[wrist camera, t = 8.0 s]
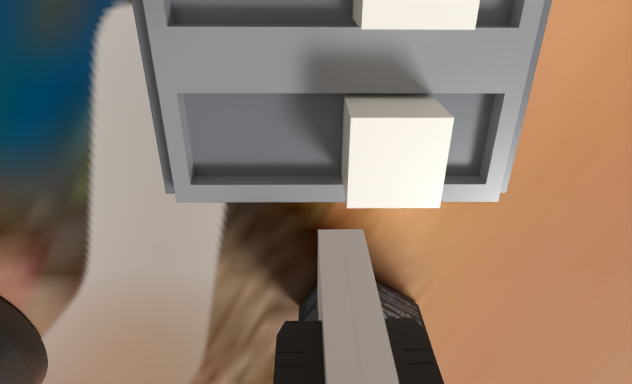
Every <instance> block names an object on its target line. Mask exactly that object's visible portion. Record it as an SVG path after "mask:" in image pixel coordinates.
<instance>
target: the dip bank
mask: <svg viewBox="0 0 632 384" xmlns="http://www.w3.org/2000/svg"><path fill="white" fill-rule="evenodd" d="M551 2H552V0H480V3H479V9H478V15H477V21H476V27H475V30H401V29H361V28H360V27H359V26H358V25H357V24H356V22H355V21H354V20H353V19H352V16H353V0H132V5H133V10H134V16H135V21H136V27H137V33H138V38H139V44H140V50H141V55H142V61H143V67H144V72H145V77H146V83H147V89H148V95H149V100H150V106H151V112H152V117H153V123H154V128H155V134H156V140H157V145H158V151H159V157H160V162H161V168H162V173H163V179H164V185H165V190H166V193H175V196H176V201H177V202H346V200H345V194H344V187H343V181H342V175H341V167H342V139H343V111H344V94H432V95H433V96H434V97H435V99H436V100H437V101H438V102H439V103H440V104H441V105H442V106H443V107H444V108H445V109H446V110H447V111H448V112H449V113H450V114H451V115H452V116H453V117H454V123H453V129H452V135H451V141H450V148H449V154H448V160H447V166H446V173H445V179H444V185H443V191H442V198H441V202H498V200H499V196H500V193H506V191H507V187H508V183H509V179H510V175H511V170H512V166H513V162H514V158H515V154H516V149H517V145H518V141H519V137H520V133H521V128H522V124H523V120H524V116H525V112H526V107H527V103H528V99H529V95H530V91H531V86H532V82H533V78H534V74H535V70H536V65H537V61H538V57H539V53H540V48H541V44H542V40H543V36H544V32H545V27H546V23H547V19H548V15H549V11H550V6H551Z"/></svg>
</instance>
